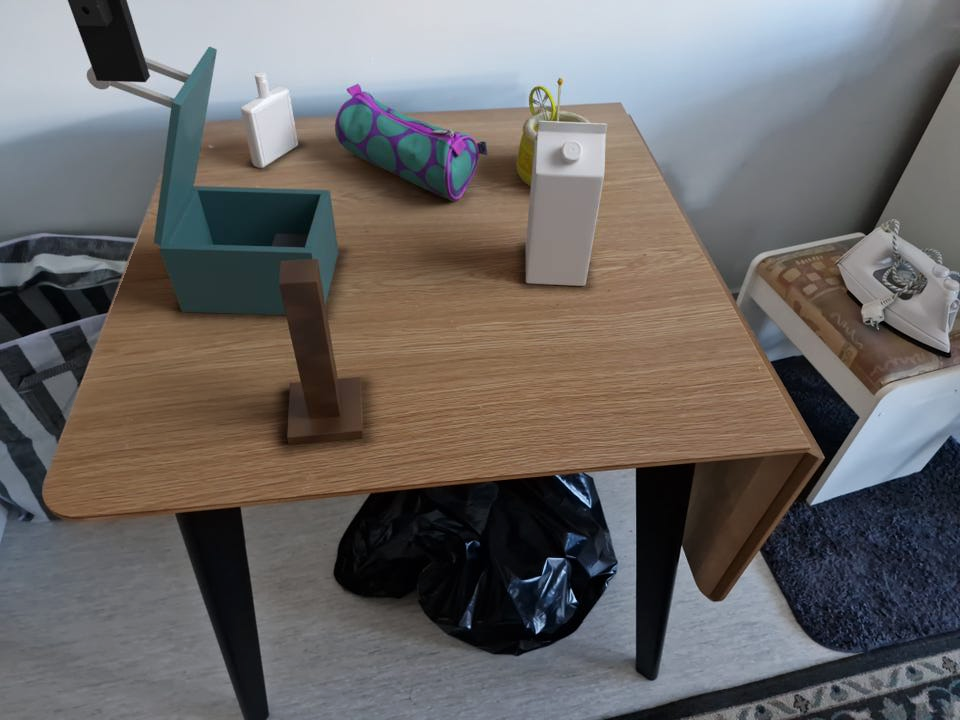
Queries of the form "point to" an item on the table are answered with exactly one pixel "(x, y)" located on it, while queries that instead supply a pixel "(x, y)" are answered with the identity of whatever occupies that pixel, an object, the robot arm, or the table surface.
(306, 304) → the post stand
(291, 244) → the block
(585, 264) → the milk carton
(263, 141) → the perfume bottle
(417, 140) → the pencil case
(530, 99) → the yellow pot
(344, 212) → the table surface
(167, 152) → the lid
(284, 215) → the chest
